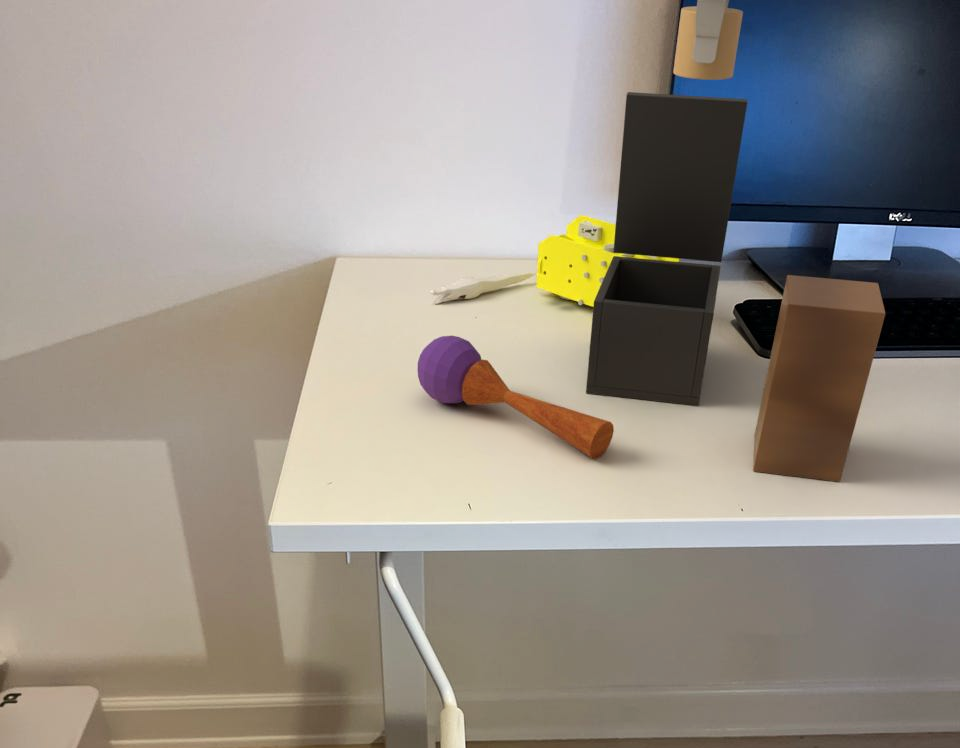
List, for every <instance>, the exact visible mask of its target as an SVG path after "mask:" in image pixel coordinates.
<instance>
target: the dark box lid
mask: <svg viewBox="0 0 960 748" xmlns="http://www.w3.org/2000/svg"><path fill="white" fill-rule="evenodd" d="M748 101H749V99H747V98H734V97H733V98H732V97H718V96H717V97H715V96H703V95H702V96H700V95H686V94H685V95H682V94H665V93H653V92H652V93H650V92H636V91H635V92H633V91H627V93H626V97H625V110H624V121H623V133H622V146H621V155H620V167H619V168H620V170H619V179H618V181H619V182H618V190H617V191H618V193H617V203H616V216H615V224H616V227H615V239H614V251H613V252H614V253H622V254H634V255H645V256H656V257H667V258H679V259H680V260H690V261H701V262H702V261H703V262H715V263H722V261H723V255H724V248H725V242H726V237H727V230H728V223H729V219H730V211H731V206H732V199H733V193H734V188H735V183H736V182H735V181H736V175H737V170H738V169H737V168H738V162H739V157H740V150H741V145H742V138H743V132H744V126H745V122H746V121H745V119H746V113H747V109H748Z"/></svg>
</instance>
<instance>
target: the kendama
mask: <svg viewBox="0 0 960 748" xmlns="http://www.w3.org/2000/svg"><path fill="white" fill-rule="evenodd" d="M417 378H418V382H419V384H420V386H421V387H422V389H423V390H424V392H425V393H426V394H427V395H428V396H429V397H430V398H431V399H433V400H435V401H437V402H439V403H442V404H460V403H462V402H464V403H465V404H466V405H468V406H476V405H477V406H479V405H491V404H503V403H505V404H507V405H508V406H510V407H511V408H512V409H514V410H516V411H517V412H519V413H521V414H522V415H524V416H525V417H527V418H529V419H530V420H532V421H533V422H535V423H536V424H537V425H539V426H541V427H543V428H544V429H546V430H547V431H549V432H550V433H552V434H554V435H555V436H557V437H558V438H559V439H561V440H563V441H565V442H566V443H567V444H569V445H571V446H572V447H574V448H575V449H577V450H578V451H580V452H581V453H583V454H585V456H588V457H589V458H590V459H592V460H597V459H600V458H601V457H602V456H603V455H604V454H605V452H606V451H607V450H608V448H609V447H610V445H611V442H612V440H613V437H614V424H613V422H612V421H609V420H606V419H603V418H599V417H597V416H593V415H590V414H587V413H583V412H580V411H578V410H574V409H570V408H567V407H564V406H561V405H558V404H554V403H551V402H548V401H544V400H541V399H538V398H534V397H532V396H528V395H525V394H522V393H519V392H515V391H513V390H511V389H510V388H509V387H508V386H507V384H506V383H505V382H504V380H503V379H502V377H501V376H500V375H499V373H498V372H497V370H496V369H495V368H494V367H493V365H492V364H491V363H490V361H488V360H487V359H482V356H481V354H480V352H478V350H477V349H476V347H475V346H474V345H473V343H471V342H470V341H469V340H467V339H465V338H463V337H461V336H457V335H456V336H455V335H442V336H439V337H437V338H434V339H433V340H432V341H430V342H429V343H428V344H427V345H426V346H425V347H424V348H423V349H422V351H421V353H420V354H419V357H418V360H417Z"/></svg>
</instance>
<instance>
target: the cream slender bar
mask: <svg viewBox="0 0 960 748" xmlns="http://www.w3.org/2000/svg"><path fill="white" fill-rule="evenodd" d="M534 276H536V273H535V272H524V273H521V272H520V273H512V274H511V273H510V274H505V275H504V274H503V275H497V276H489V277H488V276H487V277H463V278H460V279H458V280H456V281H454V282H453V283H451V284H447V285H444V286H441V287H440V288H438V289H431V290H430V292H429V293H430V295H432V296H437V297H436V298H435V299H434V301H433V305H438V304H441V303H442V302H445V301H448V300H449V301H451V300H452V301H453V300H470V299H475V298H477V297H479V296H480V295H481V294H483V293H488V292H494V291H498V290H500V289H503V288H506V287H508V286H511V285H515V284H518V283H521V282H524V281H526V280H528V279H531V278H532V277H534Z"/></svg>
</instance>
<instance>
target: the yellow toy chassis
mask: <svg viewBox="0 0 960 748" xmlns="http://www.w3.org/2000/svg"><path fill="white" fill-rule="evenodd" d="M615 227H616V223H611V222H608V221H605V220H602V219H597V218H595V217H591V216H590V217H589V216H587V215H584V214H580V215H578V216H577V217H576V218H575V219H573V220H572V221H571V222H570V223H568V224H567V225H566V233H563V234H559V235H555V234H550V235H549V236H548V237H546V238H544V239H542V240H541V241H539V243H538V246H537V263H536V264H537V265H536V281H535V283H536V284H535V287H536V288H538V289H540V290H542V291H546V292H548V293H552V294H555V295H557V296H558V297H559V298H561V299H563V300H567V301H575V302H577V304H578V305H579V306H583V305H586V306H589V307H593V306H594V300H595V298H596V295H597V293H598V291H599V288H600V286H601V284H602V282H603V279H604V277H605V275H606V272H607V270H608V268H609V265H610V263H611V261H612V258H613V256H618V257H629V258H640V259H651V260H663V261H674V262H681V259H679V258H667V257H656V256H645V255H634V254H622V253H614V252H613V251H614V239H615Z"/></svg>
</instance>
